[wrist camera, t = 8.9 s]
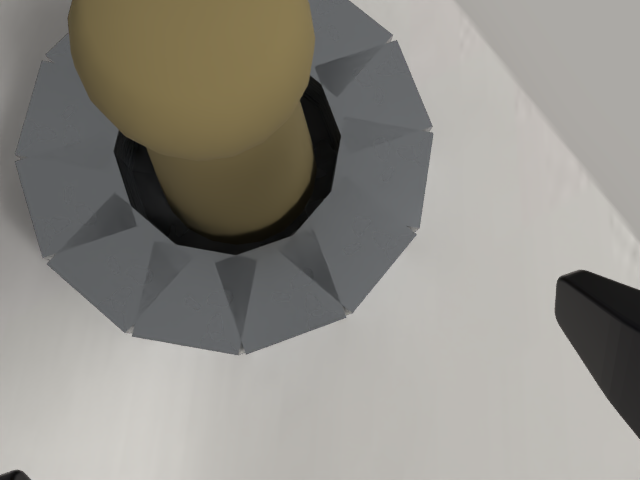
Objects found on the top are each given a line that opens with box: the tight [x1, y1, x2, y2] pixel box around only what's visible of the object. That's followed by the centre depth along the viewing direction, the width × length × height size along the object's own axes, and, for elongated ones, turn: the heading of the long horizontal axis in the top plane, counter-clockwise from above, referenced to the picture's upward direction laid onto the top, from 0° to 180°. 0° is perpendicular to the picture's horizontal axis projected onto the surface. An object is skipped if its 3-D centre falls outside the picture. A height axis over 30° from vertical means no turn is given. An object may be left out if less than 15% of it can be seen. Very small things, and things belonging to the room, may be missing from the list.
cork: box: [68, 0, 317, 245], centre depth 16 cm, size 6×6×11 cm
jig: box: [15, 0, 433, 355], centre depth 21 cm, size 14×14×3 cm
